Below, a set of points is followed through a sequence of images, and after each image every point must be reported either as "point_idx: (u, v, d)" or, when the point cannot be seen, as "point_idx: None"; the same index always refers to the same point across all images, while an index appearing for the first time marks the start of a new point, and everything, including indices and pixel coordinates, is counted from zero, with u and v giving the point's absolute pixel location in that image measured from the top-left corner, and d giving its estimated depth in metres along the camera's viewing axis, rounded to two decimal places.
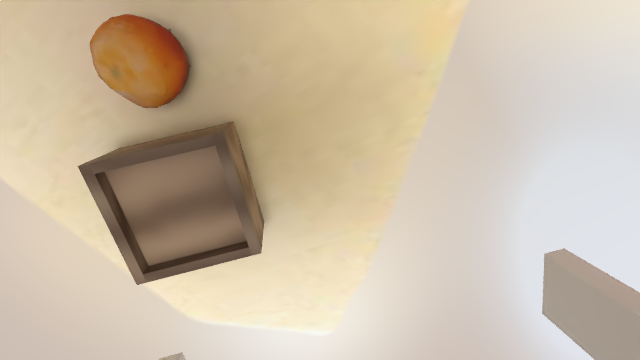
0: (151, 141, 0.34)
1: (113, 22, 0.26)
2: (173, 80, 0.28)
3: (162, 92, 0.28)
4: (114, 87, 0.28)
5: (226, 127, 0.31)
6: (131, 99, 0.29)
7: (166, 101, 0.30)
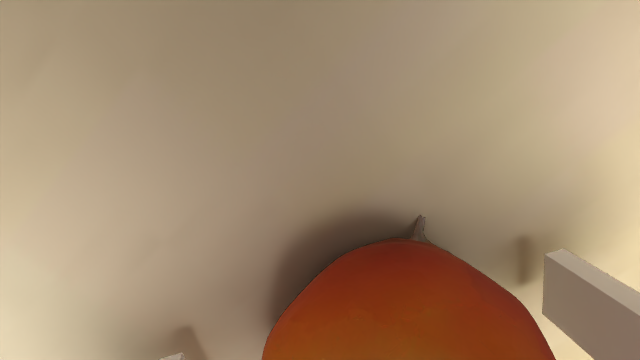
0: None
1: None
2: None
3: None
4: None
5: None
6: None
7: None
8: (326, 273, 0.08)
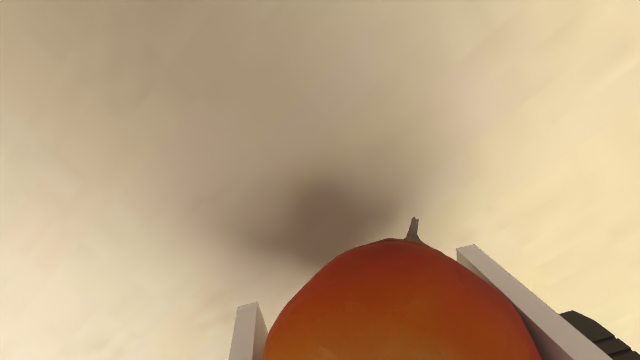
0: None
1: None
2: None
3: None
4: None
5: None
6: None
7: None
8: (324, 270, 0.09)
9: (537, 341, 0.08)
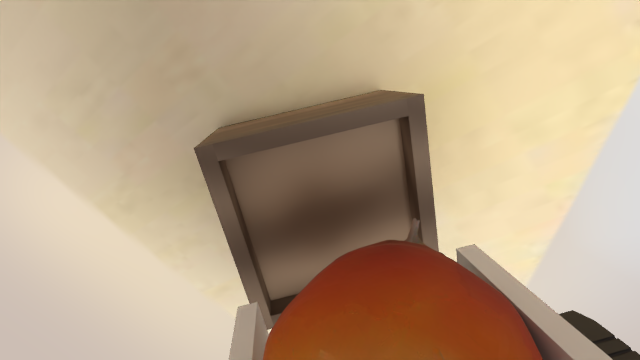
0: (267, 117, 0.23)
1: None
2: None
3: None
4: None
5: (396, 92, 0.21)
6: None
7: None
8: (324, 272, 0.09)
9: (537, 341, 0.08)
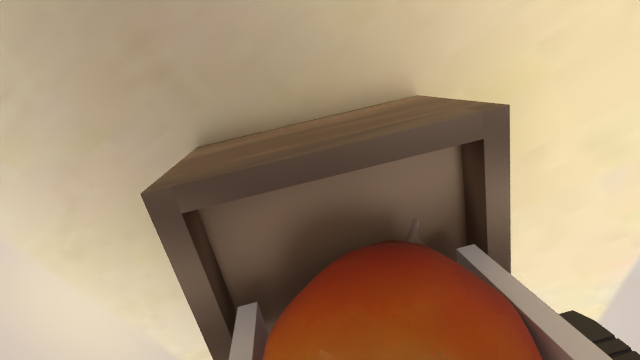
0: (263, 133, 0.17)
1: None
2: None
3: None
4: None
5: (449, 100, 0.14)
6: None
7: None
8: (324, 272, 0.09)
9: (537, 341, 0.08)
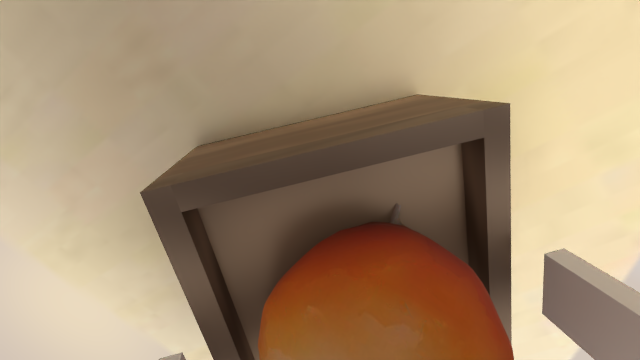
0: (263, 132, 0.17)
1: (375, 312, 0.07)
2: None
3: None
4: None
5: (449, 99, 0.14)
6: None
7: None
8: (314, 247, 0.10)
9: None
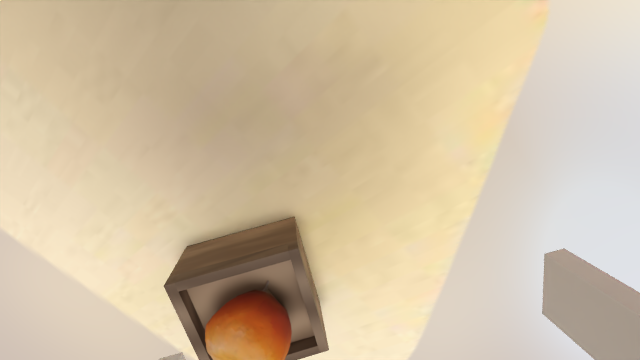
0: (217, 239, 0.36)
1: (233, 327, 0.26)
2: (284, 359, 0.28)
3: None
4: None
5: (294, 231, 0.33)
6: None
7: None
8: None
9: None
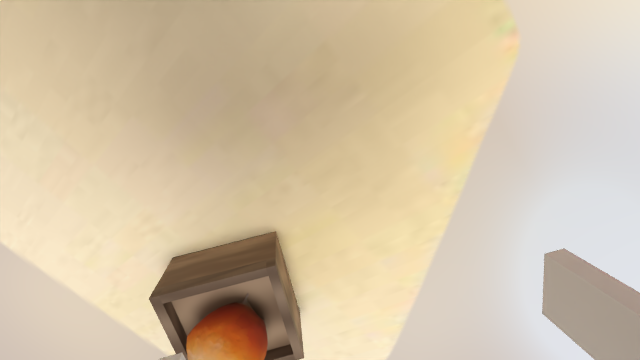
0: (202, 252, 0.38)
1: (211, 340, 0.28)
2: None
3: None
4: None
5: (273, 247, 0.35)
6: None
7: None
8: None
9: None
